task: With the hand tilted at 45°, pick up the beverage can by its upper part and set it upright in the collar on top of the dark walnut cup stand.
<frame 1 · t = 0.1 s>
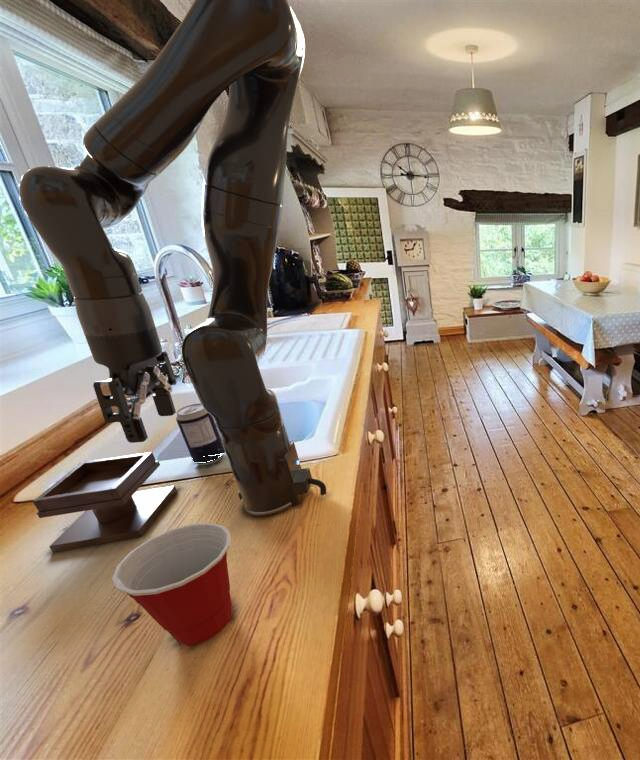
hand: (154, 427, 64), 17 cm above the worktop, tool pointing down, fingers open, 8 cm apart
plastic cup: (208, 623, 52), on the worktop
cup stand: (120, 518, 70), on the worktop
beverage can: (210, 460, 86), on the worktop
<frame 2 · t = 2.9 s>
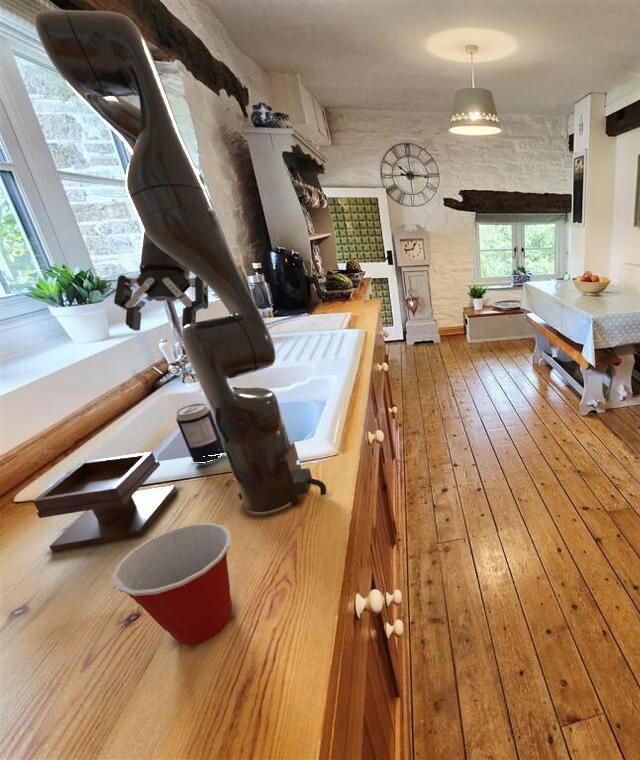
hand: (161, 328, 77), 28 cm above the worktop, tool tilted 35°, fingers open, 8 cm apart
nothing on the worktop moved.
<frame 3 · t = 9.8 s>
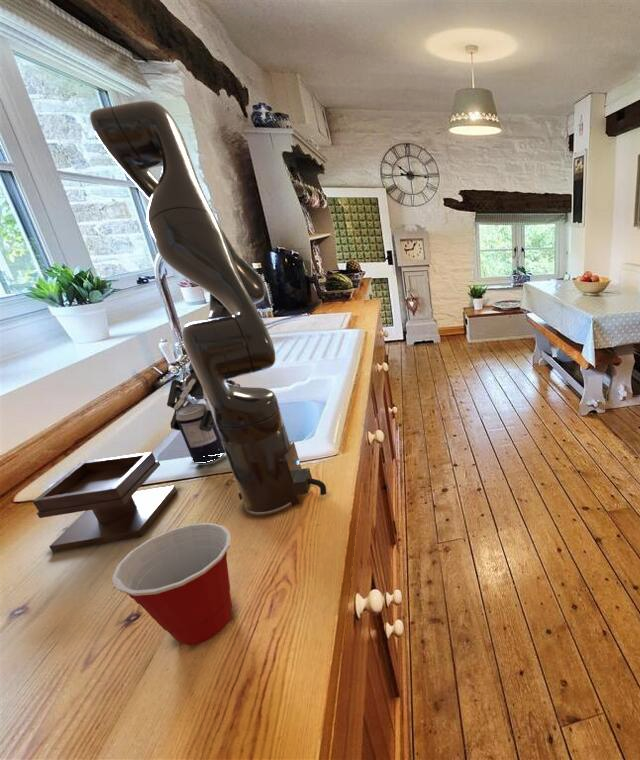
hand: (190, 429, 81), 8 cm above the worktop, tool tilted 45°, fingers closed on beverage can, 5 cm apart
beverage can: (211, 460, 86), on the worktop, touching gripper
everything else where it was.
when the fingers open (15 cm above the worktop, at t = 18.9 s): beverage can stays where it is, resting on cup stand.
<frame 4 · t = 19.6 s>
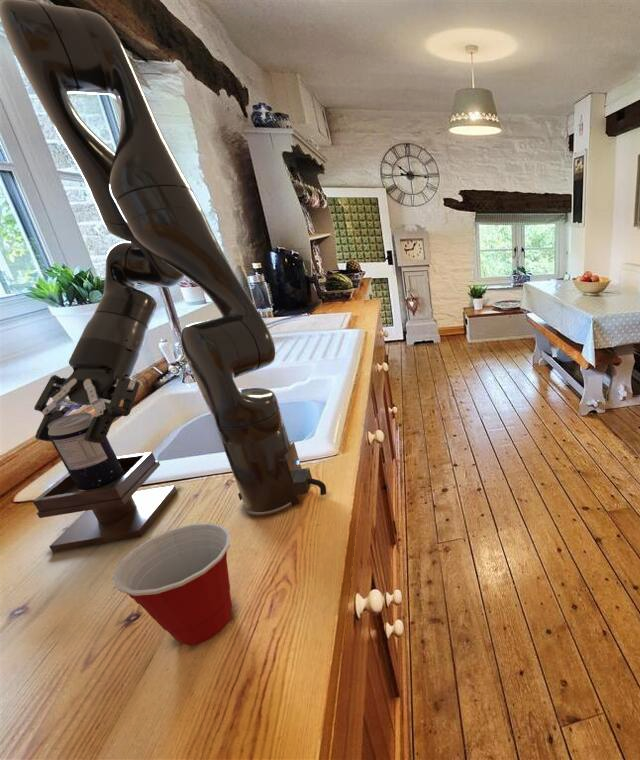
hand: (68, 441, 63), 16 cm above the worktop, tool tilted 45°, fingers open, 8 cm apart
beverage can: (103, 484, 68), point 7 cm above the worktop, touching cup stand
everything else where it was.
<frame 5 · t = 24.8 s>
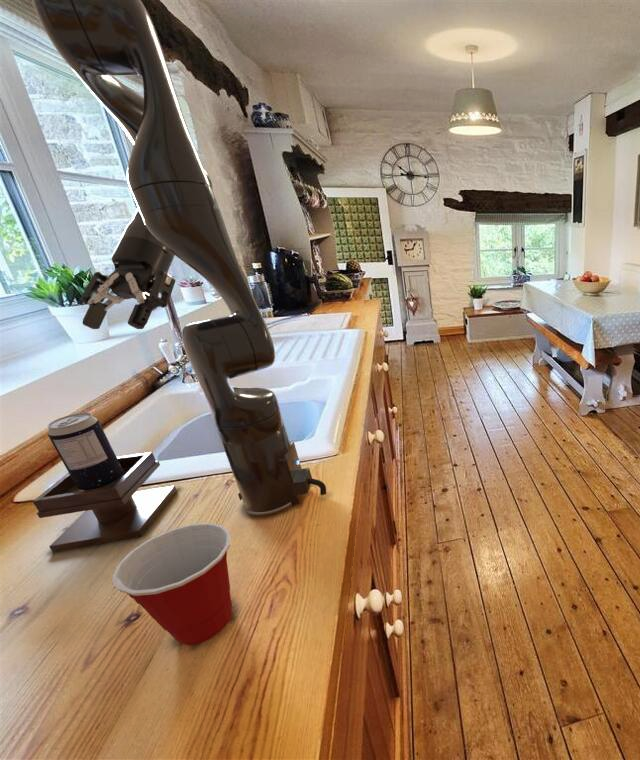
hand: (112, 327, 69), 31 cm above the worktop, tool tilted 45°, fingers open, 8 cm apart
nothing on the worktop moved.
at the end: beverage can 0.2 cm off-centre on the cup stand, point 7.0 cm above the cup stand's base; beverage can tilted 0°; the gripper is holding nothing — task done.
